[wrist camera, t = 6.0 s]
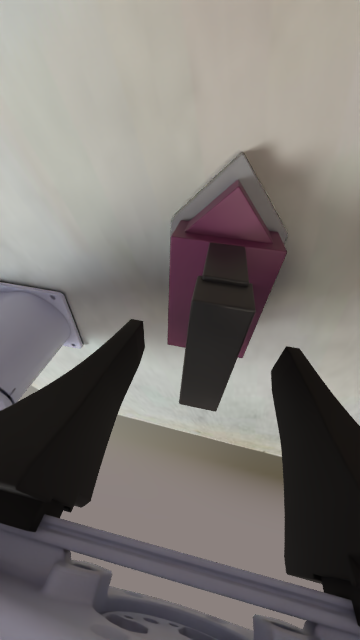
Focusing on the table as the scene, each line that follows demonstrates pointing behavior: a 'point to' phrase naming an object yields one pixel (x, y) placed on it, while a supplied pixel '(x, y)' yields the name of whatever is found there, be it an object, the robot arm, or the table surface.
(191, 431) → the table surface
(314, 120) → the table surface
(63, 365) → the table surface
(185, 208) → the iron
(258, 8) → the table surface
